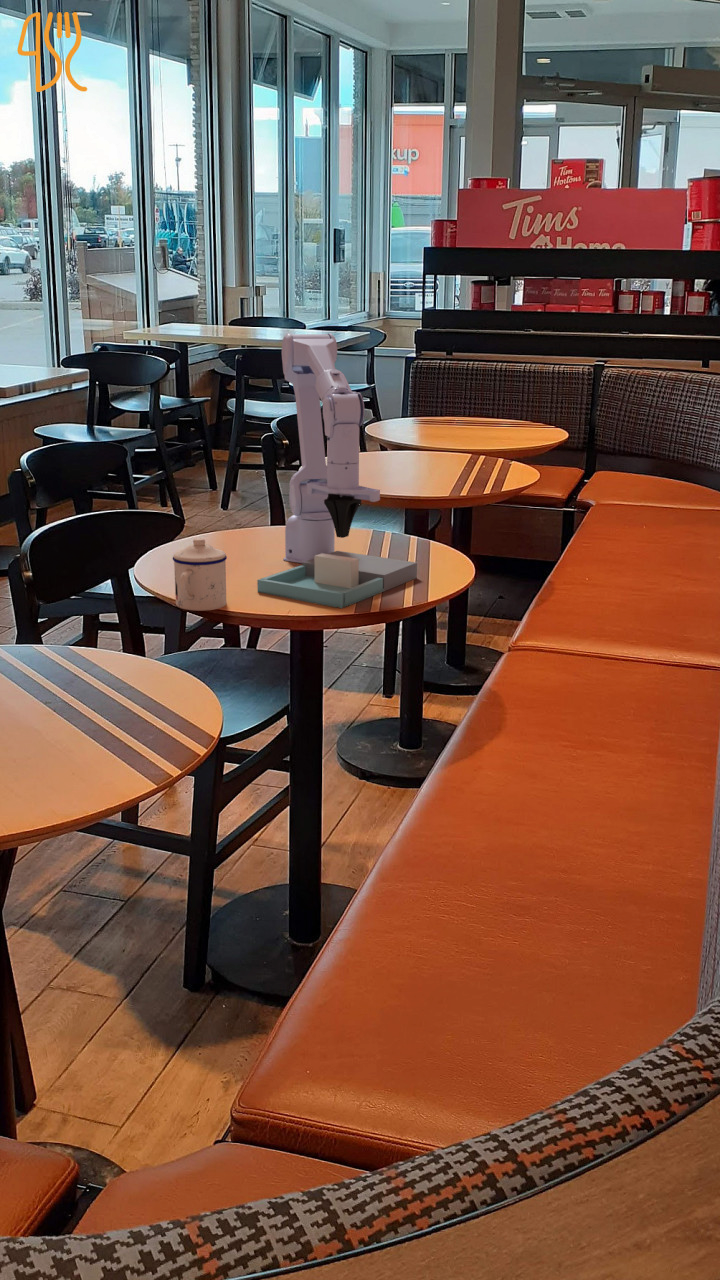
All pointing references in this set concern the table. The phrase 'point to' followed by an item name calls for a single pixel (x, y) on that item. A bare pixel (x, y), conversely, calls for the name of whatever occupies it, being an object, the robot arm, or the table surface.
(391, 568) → the bench plate
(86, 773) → the table surface
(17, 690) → the table surface
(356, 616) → the table surface
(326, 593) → the tray
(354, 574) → the cream tile
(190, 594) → the teacup with lid
